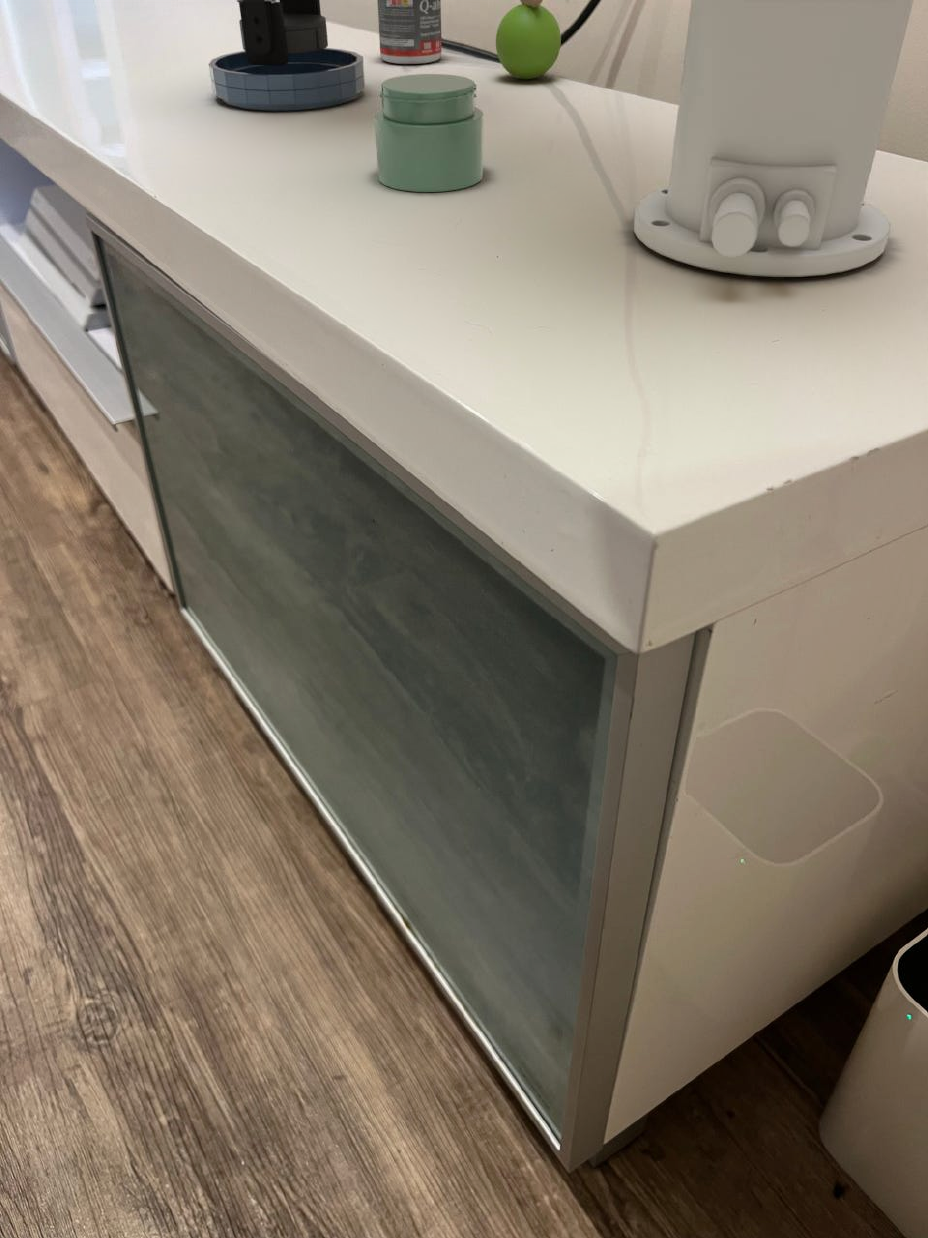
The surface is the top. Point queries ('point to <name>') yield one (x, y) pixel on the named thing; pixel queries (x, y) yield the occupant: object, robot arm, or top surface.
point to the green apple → (528, 40)
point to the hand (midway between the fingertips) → (286, 53)
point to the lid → (302, 32)
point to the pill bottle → (410, 30)
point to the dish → (289, 80)
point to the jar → (429, 133)
